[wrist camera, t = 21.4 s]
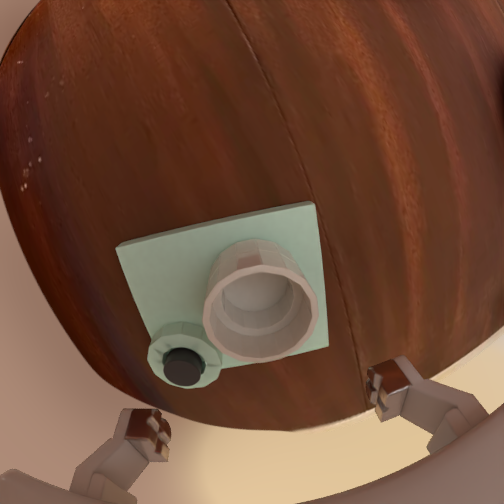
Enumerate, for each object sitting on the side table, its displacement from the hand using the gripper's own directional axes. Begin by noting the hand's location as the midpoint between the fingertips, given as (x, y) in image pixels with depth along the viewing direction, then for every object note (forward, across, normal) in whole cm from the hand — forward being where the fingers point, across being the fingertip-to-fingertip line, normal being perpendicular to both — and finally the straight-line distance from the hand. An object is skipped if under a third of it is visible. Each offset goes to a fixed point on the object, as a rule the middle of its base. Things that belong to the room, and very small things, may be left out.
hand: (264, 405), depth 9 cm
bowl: (+11, -1, 0) cm, 11 cm away
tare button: (+9, +6, +5) cm, 12 cm away
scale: (+12, +2, +2) cm, 12 cm away
